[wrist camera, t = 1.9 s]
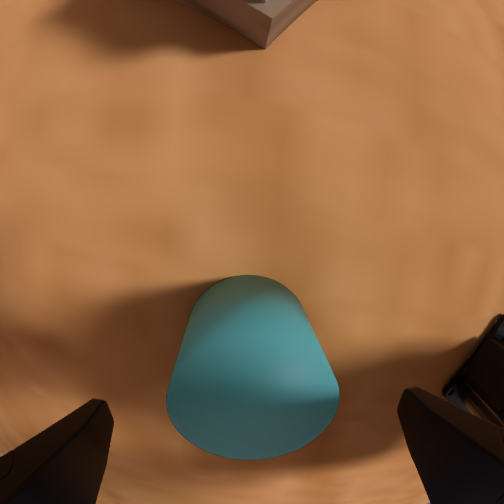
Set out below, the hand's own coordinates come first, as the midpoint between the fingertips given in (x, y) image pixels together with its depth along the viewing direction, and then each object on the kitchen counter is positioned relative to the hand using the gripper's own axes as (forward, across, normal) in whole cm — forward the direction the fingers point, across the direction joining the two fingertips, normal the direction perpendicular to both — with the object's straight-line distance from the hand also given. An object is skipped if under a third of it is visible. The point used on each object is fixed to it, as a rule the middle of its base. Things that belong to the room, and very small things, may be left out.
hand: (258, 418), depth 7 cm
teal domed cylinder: (+5, 0, 0) cm, 5 cm away
